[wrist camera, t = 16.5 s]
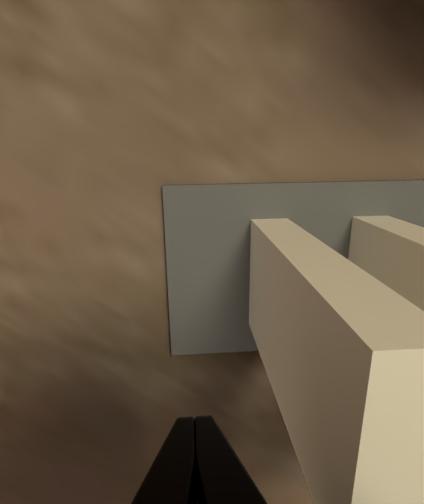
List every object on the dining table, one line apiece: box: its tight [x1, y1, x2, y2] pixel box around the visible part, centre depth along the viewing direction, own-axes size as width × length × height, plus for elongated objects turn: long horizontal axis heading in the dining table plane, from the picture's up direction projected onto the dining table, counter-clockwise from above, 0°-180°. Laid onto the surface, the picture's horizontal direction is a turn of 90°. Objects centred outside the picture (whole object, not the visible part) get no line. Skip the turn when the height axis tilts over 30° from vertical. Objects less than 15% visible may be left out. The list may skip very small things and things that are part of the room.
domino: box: [249, 218, 424, 504], centre depth 11 cm, size 2×5×10 cm, turn 1°
